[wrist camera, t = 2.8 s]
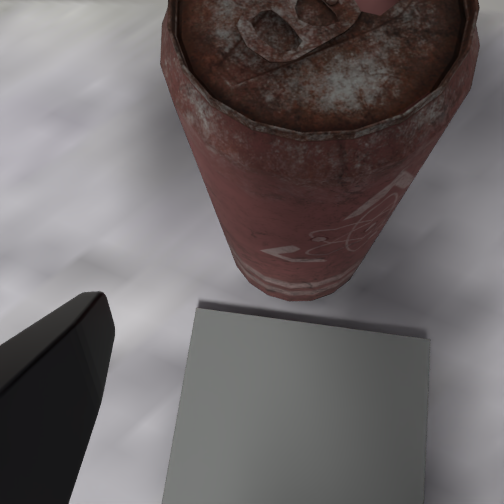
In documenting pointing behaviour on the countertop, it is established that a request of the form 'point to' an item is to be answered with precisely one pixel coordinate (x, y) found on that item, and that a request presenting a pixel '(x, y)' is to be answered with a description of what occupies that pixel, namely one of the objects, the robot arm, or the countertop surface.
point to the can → (313, 121)
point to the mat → (299, 415)
